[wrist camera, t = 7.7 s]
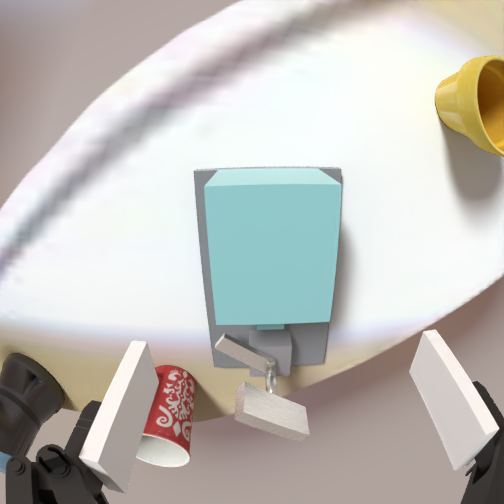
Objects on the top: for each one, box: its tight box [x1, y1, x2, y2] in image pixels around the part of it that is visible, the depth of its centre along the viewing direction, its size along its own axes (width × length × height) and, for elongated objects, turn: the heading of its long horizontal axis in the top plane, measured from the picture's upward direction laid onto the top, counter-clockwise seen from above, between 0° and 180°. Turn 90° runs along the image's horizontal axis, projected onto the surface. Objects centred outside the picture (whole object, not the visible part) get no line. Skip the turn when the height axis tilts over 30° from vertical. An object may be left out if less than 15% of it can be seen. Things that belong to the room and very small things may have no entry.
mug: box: [136, 365, 196, 467], centre depth 36 cm, size 13×9×14 cm
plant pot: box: [435, 55, 504, 157], centre depth 23 cm, size 10×10×10 cm
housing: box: [194, 167, 341, 377], centre depth 33 cm, size 15×26×6 cm, turn 2°
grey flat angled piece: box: [215, 333, 310, 442], centre depth 30 cm, size 2×11×10 cm, turn 56°
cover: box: [204, 168, 342, 330], centre depth 29 cm, size 10×17×9 cm, turn 2°
